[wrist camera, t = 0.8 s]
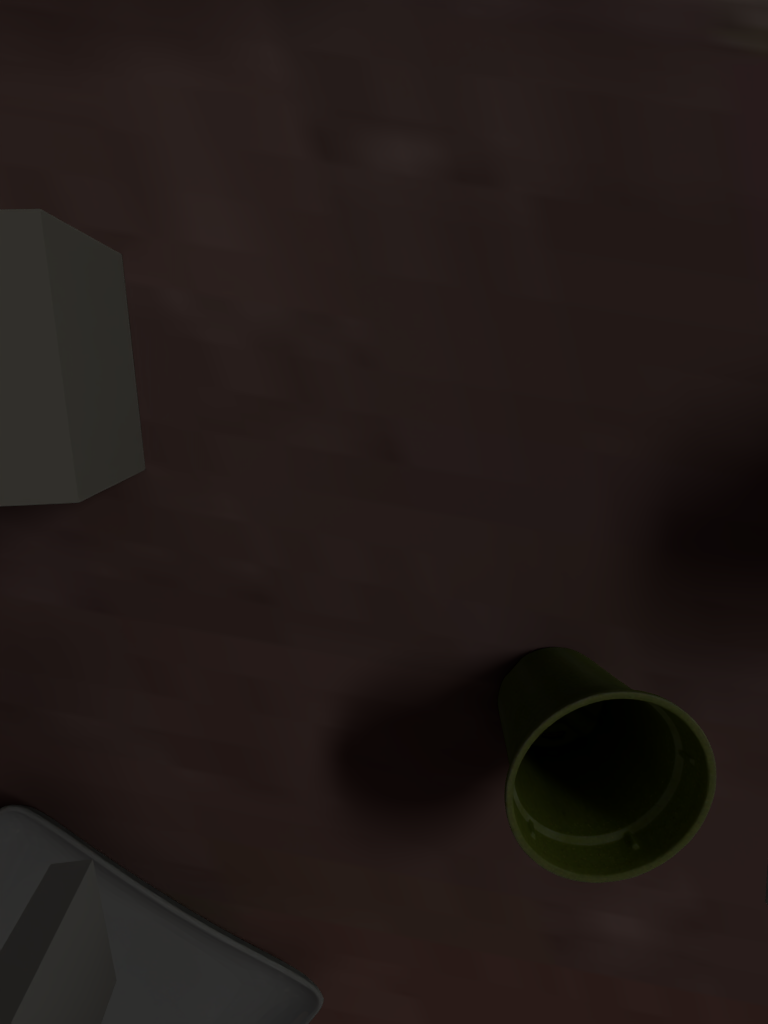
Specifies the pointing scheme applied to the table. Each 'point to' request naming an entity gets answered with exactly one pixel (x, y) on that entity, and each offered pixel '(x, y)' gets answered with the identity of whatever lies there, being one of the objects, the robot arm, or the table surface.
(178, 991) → the salad plate
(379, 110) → the table surface
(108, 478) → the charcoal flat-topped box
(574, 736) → the plant pot
